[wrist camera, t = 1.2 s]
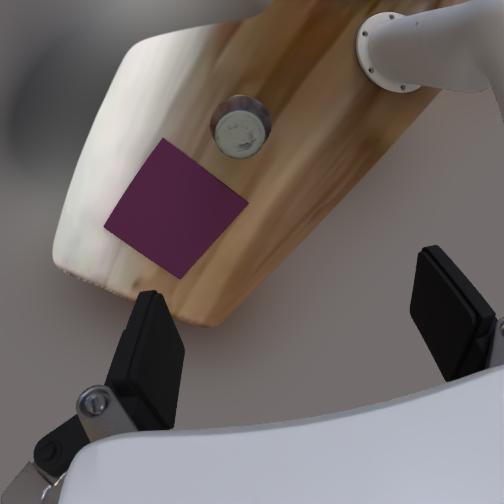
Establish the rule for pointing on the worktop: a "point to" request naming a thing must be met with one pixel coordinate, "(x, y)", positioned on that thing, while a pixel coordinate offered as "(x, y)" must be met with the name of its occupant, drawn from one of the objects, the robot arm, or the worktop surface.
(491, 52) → the robot arm
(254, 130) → the sauce bottle
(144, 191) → the cloth
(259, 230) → the worktop surface
